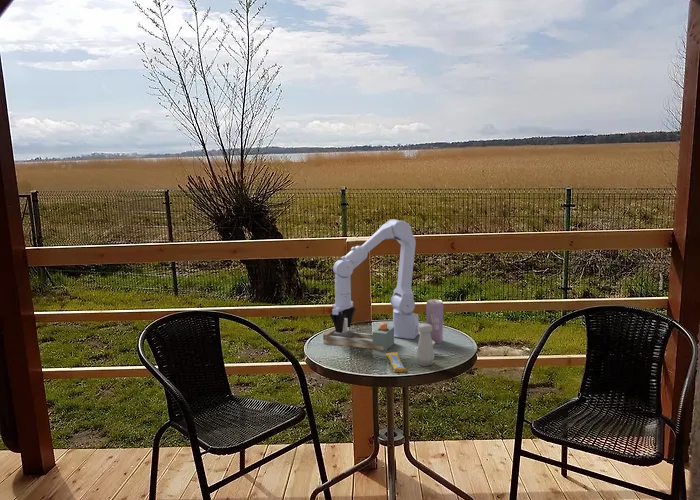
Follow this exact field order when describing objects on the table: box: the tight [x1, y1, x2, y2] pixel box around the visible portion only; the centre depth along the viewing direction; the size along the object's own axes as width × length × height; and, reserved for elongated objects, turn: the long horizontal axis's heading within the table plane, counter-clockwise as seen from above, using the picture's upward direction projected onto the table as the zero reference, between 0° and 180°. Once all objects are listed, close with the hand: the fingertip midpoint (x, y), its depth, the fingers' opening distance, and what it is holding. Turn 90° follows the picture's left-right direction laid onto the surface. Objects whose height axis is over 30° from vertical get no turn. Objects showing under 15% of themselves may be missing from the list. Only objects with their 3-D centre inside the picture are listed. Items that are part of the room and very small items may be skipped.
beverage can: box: [425, 298, 444, 344], centre depth 190 cm, size 6×6×15 cm
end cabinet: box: [372, 325, 395, 351], centre depth 185 cm, size 5×9×6 cm, turn 157°
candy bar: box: [385, 351, 408, 373], centre depth 167 cm, size 17×4×2 cm, turn 5°
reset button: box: [379, 322, 388, 331], centre depth 185 cm, size 3×3×2 cm
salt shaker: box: [415, 323, 435, 367], centre depth 166 cm, size 6×6×13 cm
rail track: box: [322, 327, 384, 351], centre depth 189 cm, size 23×9×3 cm, turn 68°
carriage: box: [333, 318, 355, 338], centre depth 191 cm, size 6×5×7 cm
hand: (343, 329), depth 191 cm, fingers open, 7 cm apart
